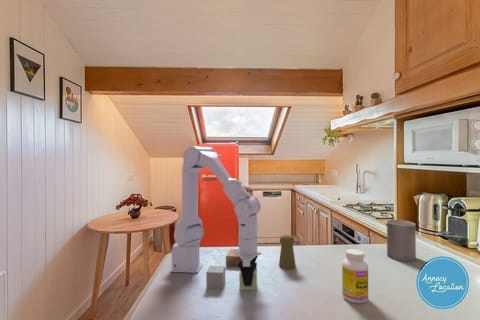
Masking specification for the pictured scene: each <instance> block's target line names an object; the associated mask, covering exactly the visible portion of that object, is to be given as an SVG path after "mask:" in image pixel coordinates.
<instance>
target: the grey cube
mask: <svg viewBox="0 0 480 320" xmlns="http://www.w3.org/2000/svg"><path fill="white" fill-rule="evenodd" d="M205 272H206V281H205V282H206V283H205V284H206V289H208V290H214V289H215V290H224V288H225V283H226V265H224V266H223V265H209V267H208V268H207V270H206V271H205Z"/></svg>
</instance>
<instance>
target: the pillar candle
mask: <svg viewBox="0 0 480 320" xmlns="http://www.w3.org/2000/svg"><path fill="white" fill-rule="evenodd" d="M386 236H387V237H386V255H387V257H388V258H390V259H392V260H394V261H398V262H405V263H406V262H407V263H408V262H413V261H416V260H417V259H416V257H417V256H416V255H417V254H416V253H417V251H416V250H417V249H416V248H417V247H416V239H417V238H416V236H417V235H416V223H415V222H413V221H409V220H404V219H401V218H400V219H389V220H387V221H386Z"/></svg>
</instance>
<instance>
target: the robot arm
mask: <svg viewBox="0 0 480 320" xmlns="http://www.w3.org/2000/svg"><path fill="white" fill-rule="evenodd" d="M182 155H183V159H182V160H183V162H182V163H183V164H182V168H181V217H180V218H179V219H178V220H177V221H176V222H175V229H174V233H173V237H174V238H173V239H174V242H175V243H174V244H173V245H172V248H171V270H170V272H171V273H187V274H188V273H189V274H193V273H195V274H196V273H198V272H199V271H200V269H201V268H202V266H203V265H204V263H203V262H200V260H201V259H200V257H201V256H200V255H201V254H200V243H201V242H202V239H203V238H204V235H205V231H204V227H203V221H202V219H201V218H200V217H199V215H198V210H199V209H198V205H199V204H198V203H199V202H198V194H199V193H198V190H199V185H198V179H199V176H198V175H199V174H198V173H200V171H201V170H203V169H204V168H207V169H209V170H210V171H211V172H212V174H214V176H215V177H216V178H217V179H218V180H219V182H220V183H221V184H222V186H223V187H222V191H223V193H225V195H226V196H227V198H228V199H229V200H230V201H231V203H232V204H233V205H234V208H233V209H234V213H235V215H236V217H237V223H238V249H239V251H238V255H239V256H240V257H241V259H242V261H238V267H237V268H238V269H239V272H240V271H241V274H242V278H243V283H244V286H251V285H252V279H253V273H254V270H255V268H256V267H257V266H258V262H256V261H257V259H258V257H259V256H260V255H262V250H258V214H259V213H260V211H261V203H260V201H259V199H258V198H257V197H256V196H253V195H251V193H250V192H248V191H247V190H246V188H245V187H244V186H243V182H242V181H241V180H240V179H239V180H238V179H237V178H232V176H231V175H230V173H229V172H228V171H227V169H226V168H225V166H224V164H223V163H222V162H221V160H220V158H219V156H218V153H217V152H216V150H215V149H214V148H213V147H211V146H195V145H189V146H188V147H187V148H186V149H185V150H184V151H183V153H182Z"/></svg>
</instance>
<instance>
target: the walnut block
mask: <svg viewBox="0 0 480 320" xmlns="http://www.w3.org/2000/svg"><path fill="white" fill-rule="evenodd" d="M238 251H239V248H229V250H228V252H227V254H226V255H225V267H236V268H239V267H238V261H242V259H241V257H240V256H239V255H238Z"/></svg>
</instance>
